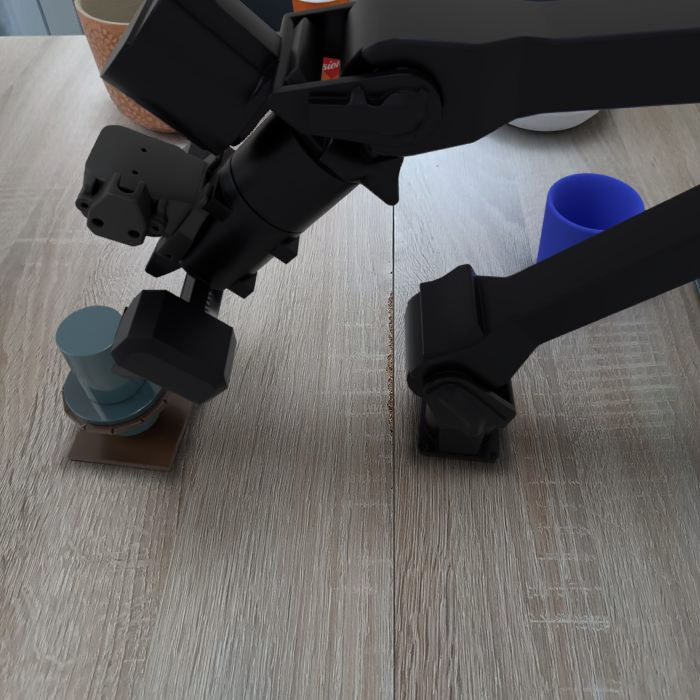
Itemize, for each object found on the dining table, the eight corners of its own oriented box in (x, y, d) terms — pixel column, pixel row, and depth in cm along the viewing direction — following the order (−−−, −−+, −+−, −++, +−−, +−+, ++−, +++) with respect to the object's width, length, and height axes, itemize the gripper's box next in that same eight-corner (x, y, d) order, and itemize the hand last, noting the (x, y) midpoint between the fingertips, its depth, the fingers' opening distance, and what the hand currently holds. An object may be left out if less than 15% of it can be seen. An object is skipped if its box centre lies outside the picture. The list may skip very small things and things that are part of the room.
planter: (224, 154, 80) (197, 28, 68) (93, 143, 82) (46, 20, 70) (260, 82, 90) (243, -38, 78) (144, 74, 92) (110, -44, 81)
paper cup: (287, 94, 88) (275, -17, 77) (315, 67, 92) (307, -41, 81) (338, 107, 86) (333, -5, 75) (364, 79, 90) (363, -31, 79)
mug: (656, 323, 61) (698, 242, 53) (525, 306, 63) (546, 226, 55) (649, 263, 66) (687, 181, 58) (527, 249, 68) (548, 167, 60)
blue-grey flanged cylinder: (192, 382, 56) (162, 297, 48) (157, 460, 52) (116, 382, 43) (109, 368, 58) (65, 283, 49) (67, 443, 53) (11, 364, 45)
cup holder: (170, 471, 53) (152, 436, 48) (69, 459, 54) (43, 423, 49) (200, 385, 58) (187, 346, 54) (108, 375, 59) (88, 336, 55)
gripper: (181, 9, 38) (66, 170, 47) (88, 219, 26) (-41, 378, 35) (325, 128, 44) (197, 251, 53) (301, 344, 32) (143, 454, 41)
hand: (135, 319), depth 45 cm, fingers open, 9 cm apart
